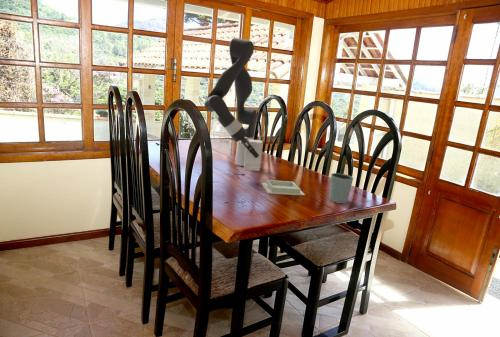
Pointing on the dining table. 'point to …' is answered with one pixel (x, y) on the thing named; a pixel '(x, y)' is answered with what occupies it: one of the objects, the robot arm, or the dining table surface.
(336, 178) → the grey plant pot
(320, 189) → the dining table surface
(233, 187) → the dining table surface
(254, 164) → the skincare box
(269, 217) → the dining table surface
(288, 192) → the tray
